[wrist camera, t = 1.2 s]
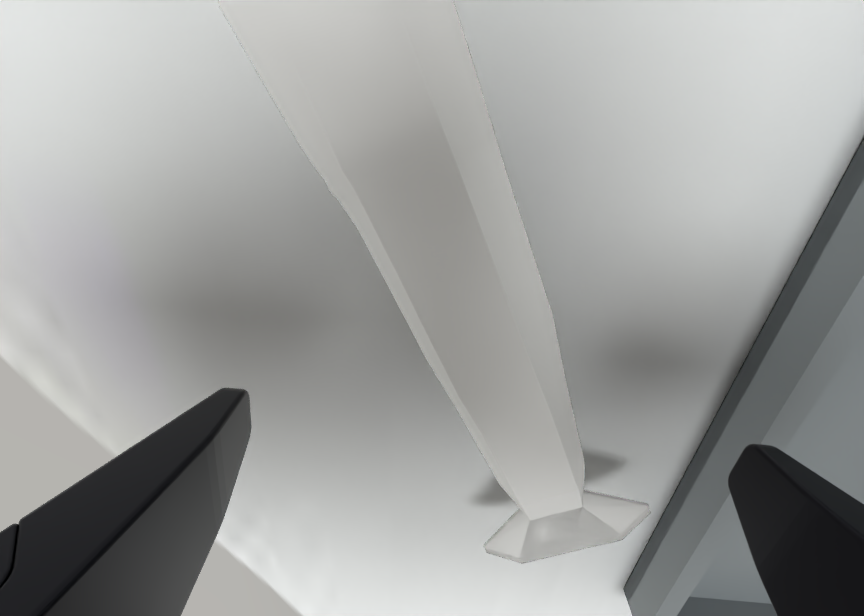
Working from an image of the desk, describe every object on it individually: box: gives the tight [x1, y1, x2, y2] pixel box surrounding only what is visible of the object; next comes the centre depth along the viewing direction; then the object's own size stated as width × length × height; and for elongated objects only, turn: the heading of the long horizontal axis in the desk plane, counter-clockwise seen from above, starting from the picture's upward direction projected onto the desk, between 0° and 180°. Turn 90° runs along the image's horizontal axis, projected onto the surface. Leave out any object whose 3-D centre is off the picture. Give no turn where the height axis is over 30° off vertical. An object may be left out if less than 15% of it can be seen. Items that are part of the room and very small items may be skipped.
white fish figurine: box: [218, 0, 651, 563], centre depth 12 cm, size 6×18×4 cm, turn 22°
